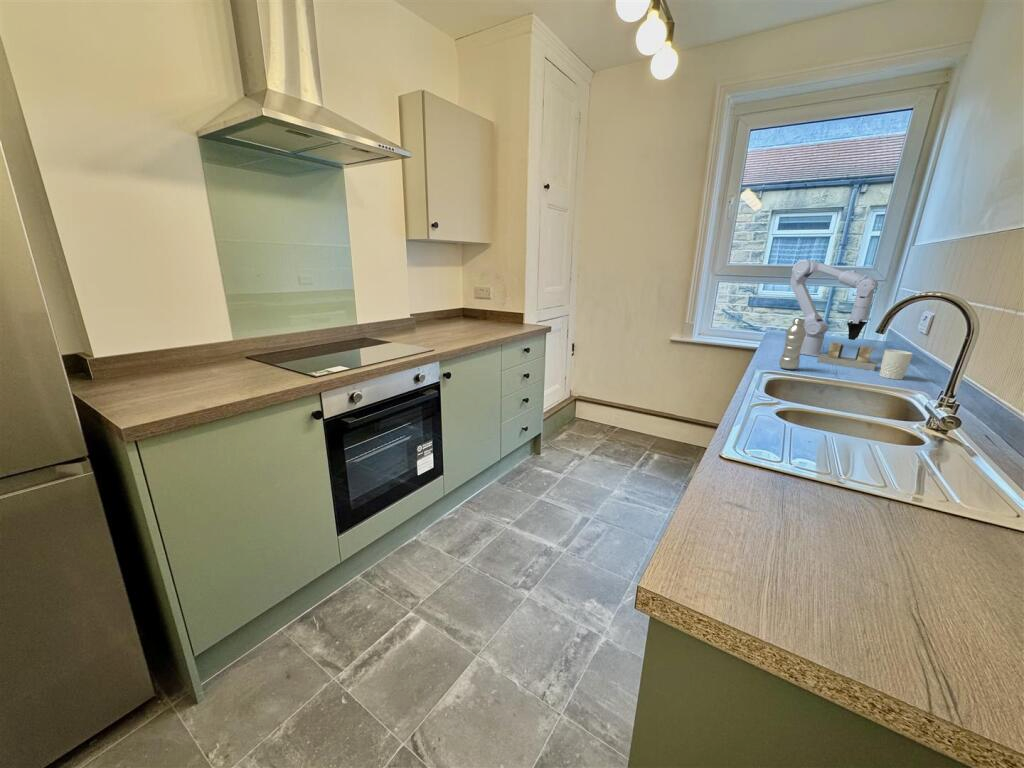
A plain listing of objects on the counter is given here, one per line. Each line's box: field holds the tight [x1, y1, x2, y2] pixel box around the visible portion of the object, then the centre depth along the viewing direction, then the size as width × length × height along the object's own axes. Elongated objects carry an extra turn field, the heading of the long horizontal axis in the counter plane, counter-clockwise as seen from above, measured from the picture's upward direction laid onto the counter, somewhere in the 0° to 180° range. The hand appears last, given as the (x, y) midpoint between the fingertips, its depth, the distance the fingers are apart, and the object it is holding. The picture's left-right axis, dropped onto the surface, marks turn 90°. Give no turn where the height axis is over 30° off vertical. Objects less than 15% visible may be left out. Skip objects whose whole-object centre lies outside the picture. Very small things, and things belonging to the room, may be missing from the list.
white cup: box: [878, 349, 914, 380], centre depth 154 cm, size 8×8×10 cm
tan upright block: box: [855, 345, 873, 363], centre depth 168 cm, size 4×4×7 cm
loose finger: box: [827, 341, 844, 358], centre depth 175 cm, size 4×4×7 cm
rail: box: [816, 353, 878, 372], centre depth 173 cm, size 19×8×3 cm, turn 45°
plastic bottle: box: [778, 317, 806, 370], centre depth 160 cm, size 6×7×20 cm
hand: (852, 338), depth 178 cm, fingers open, 7 cm apart
